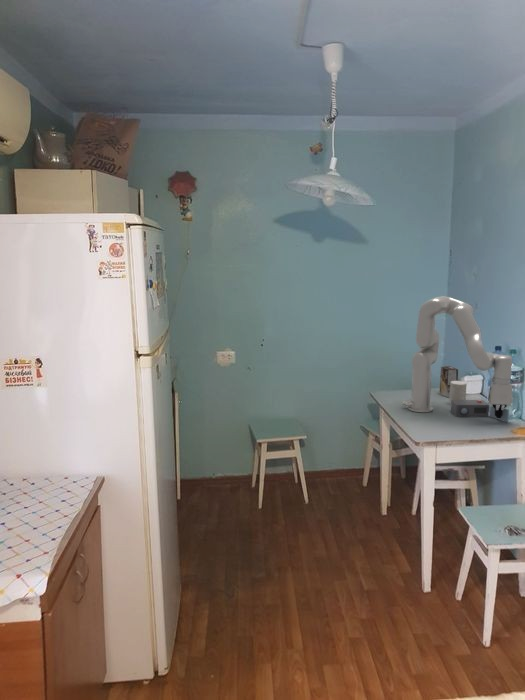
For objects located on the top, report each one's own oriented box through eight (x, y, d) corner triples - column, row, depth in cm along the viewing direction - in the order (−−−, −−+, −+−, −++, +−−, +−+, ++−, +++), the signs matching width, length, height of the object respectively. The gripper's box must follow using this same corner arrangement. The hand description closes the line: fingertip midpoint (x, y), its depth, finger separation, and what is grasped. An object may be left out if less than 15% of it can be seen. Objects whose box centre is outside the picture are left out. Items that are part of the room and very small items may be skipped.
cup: (450, 405, 282) (451, 384, 280) (448, 401, 290) (449, 380, 287) (466, 406, 280) (467, 384, 278) (464, 402, 288) (465, 381, 285)
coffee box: (457, 396, 299) (458, 369, 296) (446, 397, 297) (448, 370, 294) (448, 392, 307) (450, 365, 304) (438, 393, 306) (440, 366, 303)
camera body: (456, 417, 263) (457, 404, 261) (450, 410, 273) (451, 398, 272) (489, 417, 262) (490, 404, 260) (482, 411, 272) (483, 398, 271)
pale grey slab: (509, 422, 254) (510, 409, 253) (507, 422, 253) (507, 410, 252) (491, 416, 263) (492, 404, 262) (489, 416, 263) (489, 404, 261)
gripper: (488, 382, 248) (485, 419, 251) (520, 383, 247) (517, 420, 250) (482, 378, 255) (479, 414, 259) (514, 379, 254) (510, 415, 258)
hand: (498, 417), depth 255 cm, fingers closed
